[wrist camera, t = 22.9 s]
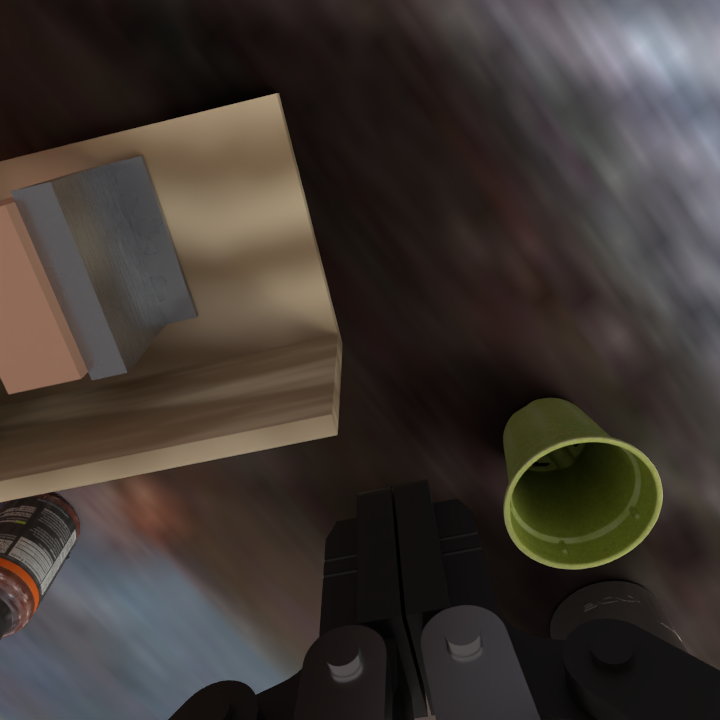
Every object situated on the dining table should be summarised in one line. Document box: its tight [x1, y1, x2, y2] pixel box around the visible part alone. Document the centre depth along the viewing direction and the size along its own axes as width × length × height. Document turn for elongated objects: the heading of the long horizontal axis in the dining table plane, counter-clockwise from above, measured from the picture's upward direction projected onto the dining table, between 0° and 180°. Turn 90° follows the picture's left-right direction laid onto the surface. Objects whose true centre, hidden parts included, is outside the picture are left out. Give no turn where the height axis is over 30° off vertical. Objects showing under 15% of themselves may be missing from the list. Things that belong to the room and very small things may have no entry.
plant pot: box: [503, 398, 663, 569], centre depth 42 cm, size 9×9×9 cm
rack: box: [0, 93, 343, 502], centre depth 35 cm, size 16×25×12 cm, turn 103°
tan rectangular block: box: [0, 197, 88, 394], centre depth 35 cm, size 4×9×9 cm, turn 13°
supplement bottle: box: [0, 493, 80, 640], centre depth 43 cm, size 6×6×11 cm
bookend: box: [11, 155, 198, 380], centre depth 35 cm, size 10×4×8 cm, turn 13°
